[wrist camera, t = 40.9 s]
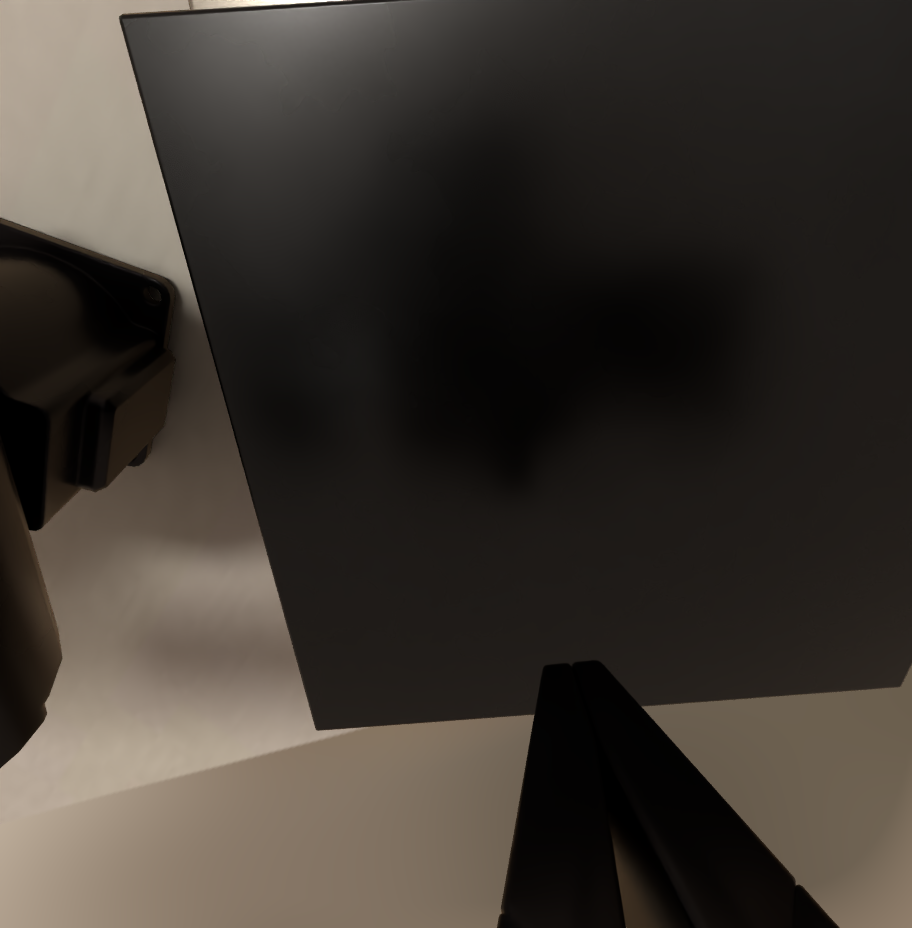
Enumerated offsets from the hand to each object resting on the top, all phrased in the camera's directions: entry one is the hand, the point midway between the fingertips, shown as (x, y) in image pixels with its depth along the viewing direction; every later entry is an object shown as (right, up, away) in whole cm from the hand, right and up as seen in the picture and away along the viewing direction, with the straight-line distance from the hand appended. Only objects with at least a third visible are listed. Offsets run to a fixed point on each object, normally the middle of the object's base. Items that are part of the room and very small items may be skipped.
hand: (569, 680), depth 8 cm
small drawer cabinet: (+1, +8, +9) cm, 12 cm away
